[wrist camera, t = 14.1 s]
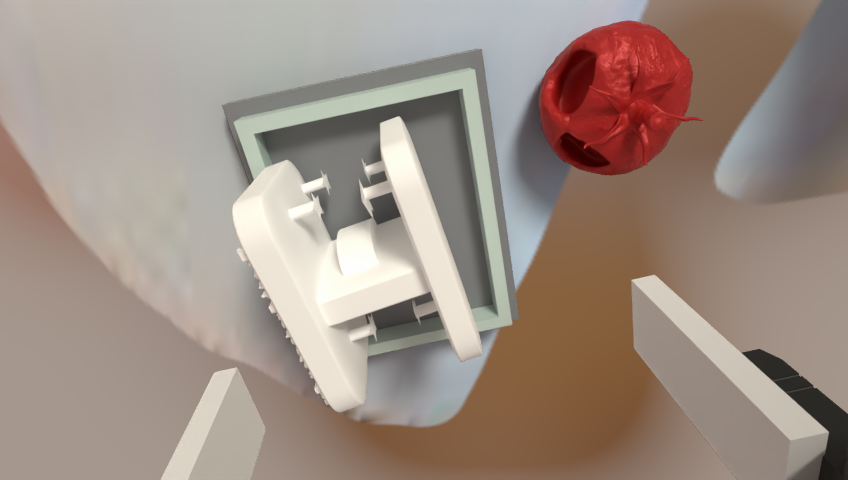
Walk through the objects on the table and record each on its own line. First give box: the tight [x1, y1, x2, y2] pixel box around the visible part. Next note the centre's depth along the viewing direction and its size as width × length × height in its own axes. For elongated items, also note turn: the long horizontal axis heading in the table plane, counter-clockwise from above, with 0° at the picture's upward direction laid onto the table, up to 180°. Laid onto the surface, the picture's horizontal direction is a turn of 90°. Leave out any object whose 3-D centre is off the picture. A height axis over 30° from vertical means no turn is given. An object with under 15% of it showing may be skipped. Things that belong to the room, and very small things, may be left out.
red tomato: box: [538, 21, 702, 175], centre depth 32 cm, size 10×10×9 cm
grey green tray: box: [222, 49, 519, 356], centre depth 37 cm, size 18×22×4 cm
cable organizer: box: [232, 116, 483, 412], centre depth 31 cm, size 15×11×12 cm
